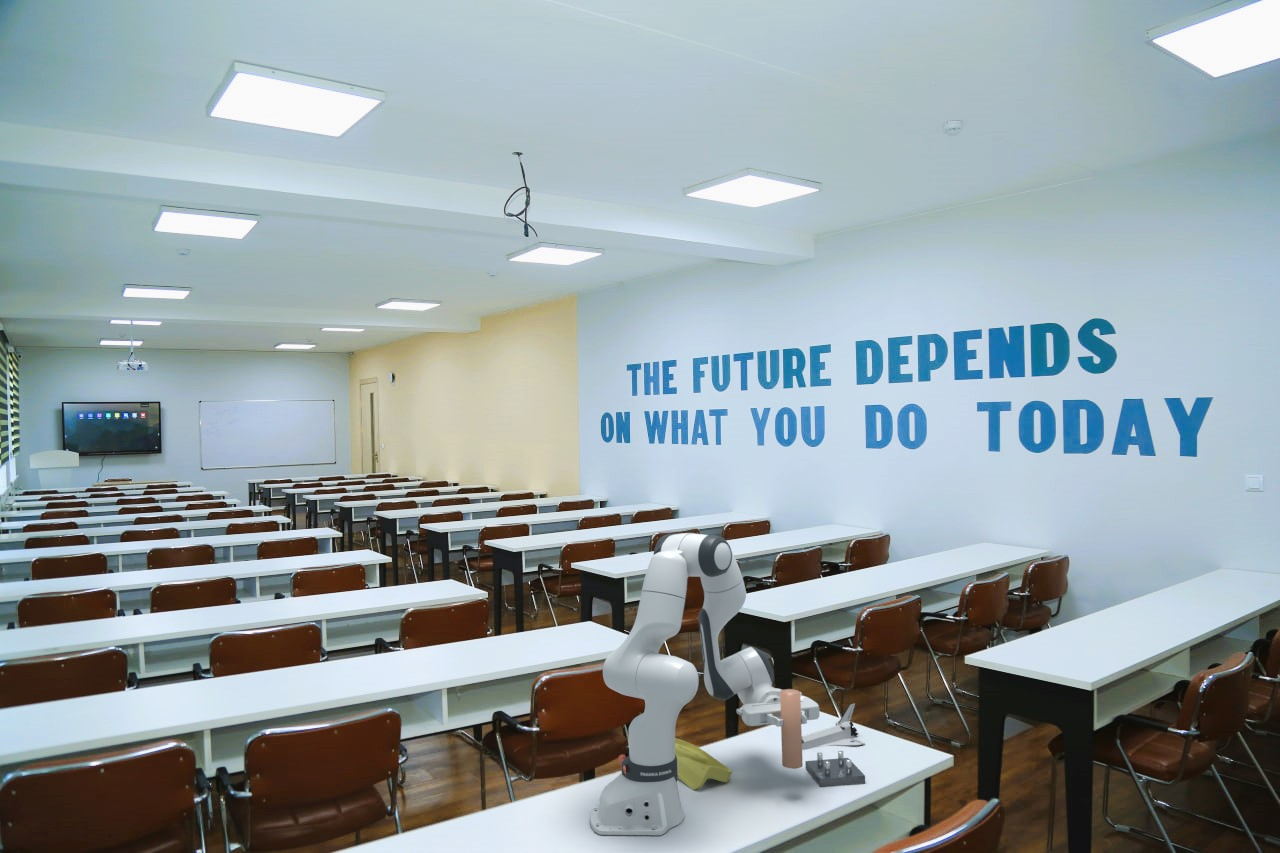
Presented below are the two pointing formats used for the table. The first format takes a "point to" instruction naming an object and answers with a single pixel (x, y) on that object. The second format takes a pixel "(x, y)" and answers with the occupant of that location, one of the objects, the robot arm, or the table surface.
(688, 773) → the plastic component
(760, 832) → the table surface
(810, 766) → the plate
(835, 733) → the space shuttle model
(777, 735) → the table surface
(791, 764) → the canister
